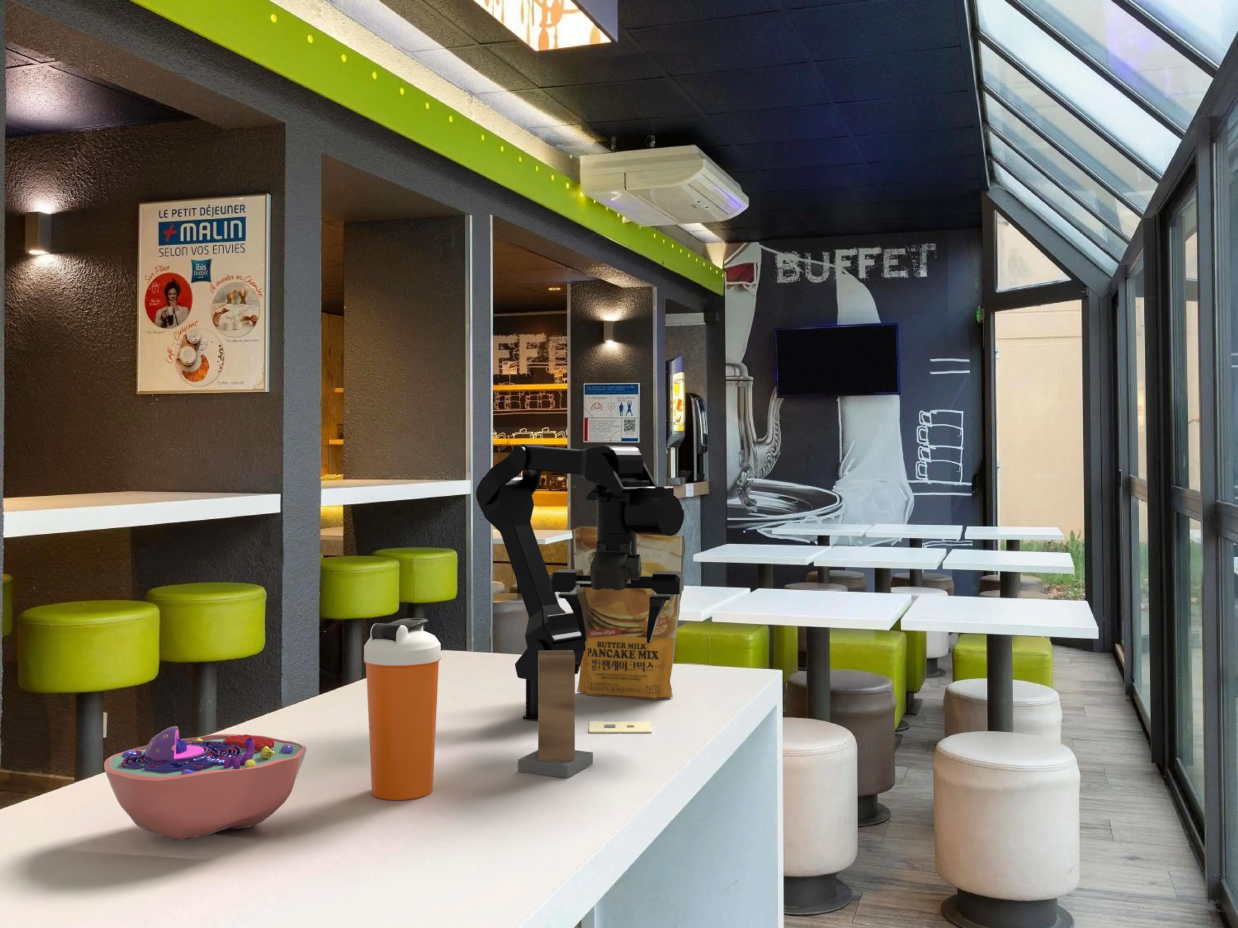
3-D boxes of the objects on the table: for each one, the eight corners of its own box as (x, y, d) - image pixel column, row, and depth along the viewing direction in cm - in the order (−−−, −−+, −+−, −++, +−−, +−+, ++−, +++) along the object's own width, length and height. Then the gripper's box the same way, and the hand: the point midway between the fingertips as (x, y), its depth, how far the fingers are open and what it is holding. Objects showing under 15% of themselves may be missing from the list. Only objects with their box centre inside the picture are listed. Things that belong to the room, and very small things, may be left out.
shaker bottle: (454, 784, 133) (454, 618, 133) (417, 806, 124) (417, 628, 124) (389, 777, 136) (389, 614, 136) (348, 798, 127) (348, 624, 127)
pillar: (538, 751, 142) (538, 650, 142) (572, 750, 143) (573, 649, 143) (538, 760, 138) (538, 656, 138) (574, 759, 138) (575, 656, 138)
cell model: (307, 850, 111) (307, 737, 111) (88, 870, 105) (88, 751, 105) (305, 800, 127) (305, 701, 127) (115, 816, 121) (115, 712, 121)
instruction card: (588, 732, 158) (588, 730, 158) (589, 722, 164) (589, 720, 164) (651, 732, 158) (651, 730, 158) (650, 722, 164) (650, 720, 164)
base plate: (518, 771, 138) (518, 759, 138) (544, 757, 145) (544, 746, 145) (567, 777, 136) (567, 765, 136) (592, 763, 142) (592, 752, 142)
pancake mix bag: (577, 687, 190) (577, 524, 190) (686, 693, 185) (686, 526, 185) (565, 695, 184) (565, 526, 184) (677, 702, 179) (677, 528, 178)
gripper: (539, 535, 152) (539, 649, 152) (675, 537, 149) (674, 653, 149) (558, 530, 163) (558, 636, 163) (684, 532, 160) (684, 640, 160)
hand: (616, 642), depth 158 cm, fingers open, 9 cm apart
